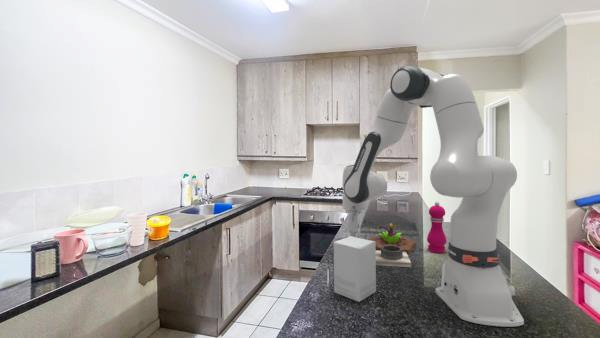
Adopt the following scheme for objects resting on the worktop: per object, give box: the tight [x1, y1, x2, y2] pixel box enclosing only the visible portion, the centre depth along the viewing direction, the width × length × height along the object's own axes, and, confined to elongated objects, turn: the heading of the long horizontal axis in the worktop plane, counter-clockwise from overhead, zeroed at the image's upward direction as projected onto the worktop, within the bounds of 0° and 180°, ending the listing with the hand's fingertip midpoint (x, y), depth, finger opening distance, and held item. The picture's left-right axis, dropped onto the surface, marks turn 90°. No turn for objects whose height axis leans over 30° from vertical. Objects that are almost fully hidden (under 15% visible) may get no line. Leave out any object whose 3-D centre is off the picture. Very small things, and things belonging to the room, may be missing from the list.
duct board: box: [376, 245, 412, 268], centre depth 113 cm, size 12×12×4 cm
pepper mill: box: [426, 201, 448, 254], centre depth 122 cm, size 7×7×20 cm
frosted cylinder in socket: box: [347, 221, 360, 238], centre depth 123 cm, size 5×5×12 cm
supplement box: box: [333, 236, 377, 303], centre depth 88 cm, size 9×9×15 cm
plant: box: [366, 221, 417, 256], centre depth 129 cm, size 20×20×11 cm
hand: (353, 238), depth 123 cm, fingers open, 8 cm apart
